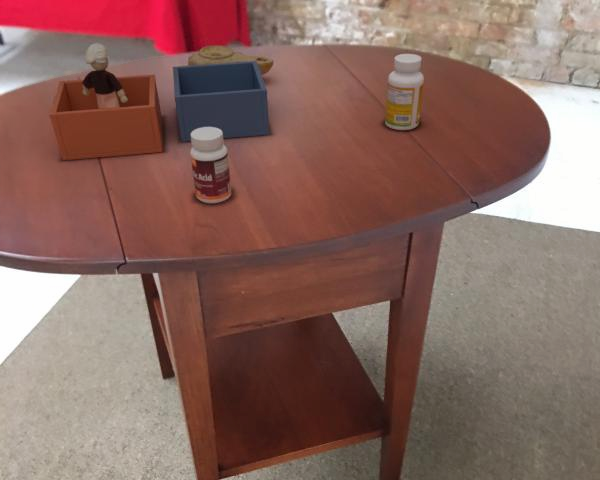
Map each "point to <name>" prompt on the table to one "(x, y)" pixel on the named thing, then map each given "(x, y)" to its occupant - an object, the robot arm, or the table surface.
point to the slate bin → (221, 99)
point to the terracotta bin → (107, 120)
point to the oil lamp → (227, 58)
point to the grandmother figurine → (102, 79)
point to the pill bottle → (210, 165)
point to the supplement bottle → (404, 93)
